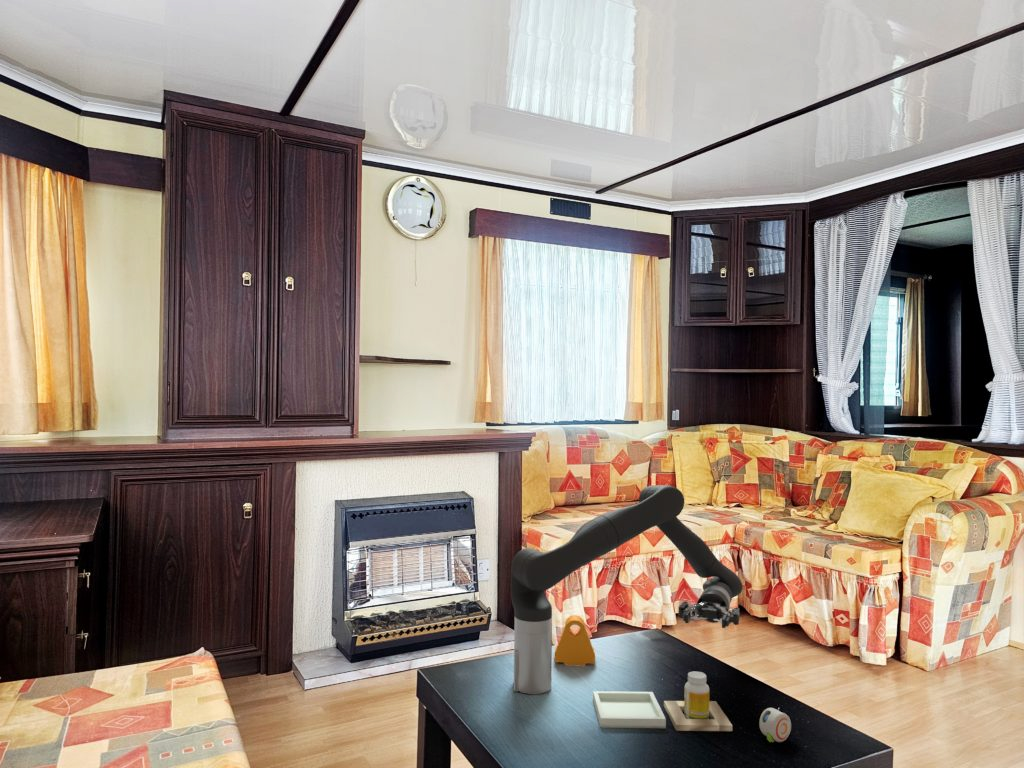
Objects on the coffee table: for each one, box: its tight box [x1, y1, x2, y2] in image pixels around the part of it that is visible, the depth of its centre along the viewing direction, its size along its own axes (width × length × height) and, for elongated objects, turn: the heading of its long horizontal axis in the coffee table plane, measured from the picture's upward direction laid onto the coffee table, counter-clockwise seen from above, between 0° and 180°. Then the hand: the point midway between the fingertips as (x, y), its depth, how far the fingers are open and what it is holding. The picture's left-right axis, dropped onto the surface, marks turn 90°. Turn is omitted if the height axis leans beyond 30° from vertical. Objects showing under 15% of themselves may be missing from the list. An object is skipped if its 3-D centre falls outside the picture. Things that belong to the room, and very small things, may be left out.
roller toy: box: [758, 707, 792, 743], centre depth 145 cm, size 4×6×6 cm
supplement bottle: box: [683, 670, 710, 719], centre depth 154 cm, size 5×5×10 cm
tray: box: [592, 690, 667, 729], centre depth 156 cm, size 14×14×2 cm
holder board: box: [663, 700, 733, 732], centre depth 154 cm, size 12×12×1 cm
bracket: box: [554, 614, 596, 667], centre depth 188 cm, size 11×7×12 cm, turn 85°
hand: (704, 621), depth 164 cm, fingers open, 8 cm apart
